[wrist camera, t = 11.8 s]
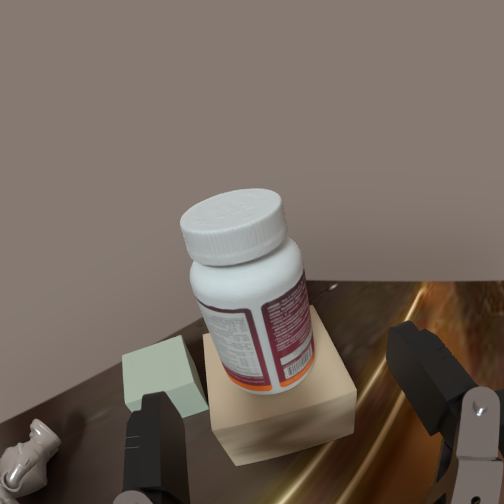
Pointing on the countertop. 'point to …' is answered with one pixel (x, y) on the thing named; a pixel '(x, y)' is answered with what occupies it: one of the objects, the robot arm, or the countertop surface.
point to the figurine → (27, 463)
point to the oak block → (282, 406)
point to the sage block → (164, 376)
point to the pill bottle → (251, 289)
